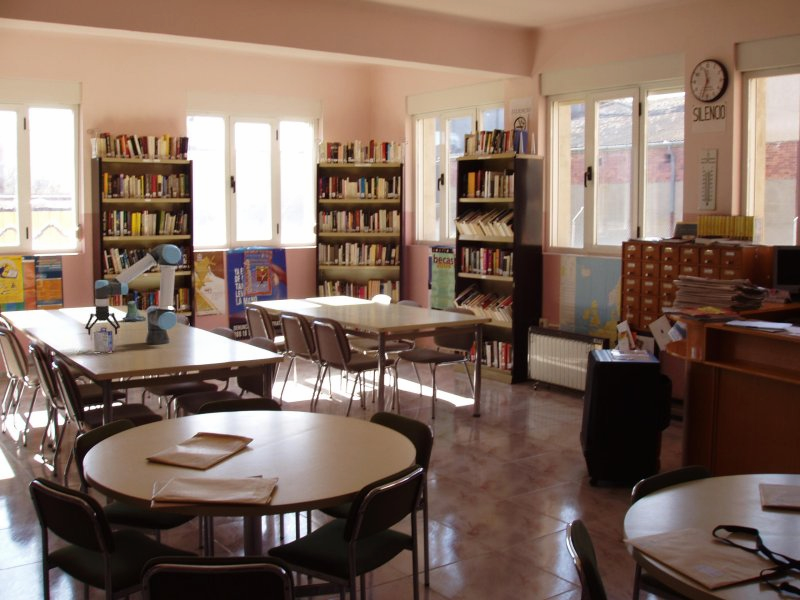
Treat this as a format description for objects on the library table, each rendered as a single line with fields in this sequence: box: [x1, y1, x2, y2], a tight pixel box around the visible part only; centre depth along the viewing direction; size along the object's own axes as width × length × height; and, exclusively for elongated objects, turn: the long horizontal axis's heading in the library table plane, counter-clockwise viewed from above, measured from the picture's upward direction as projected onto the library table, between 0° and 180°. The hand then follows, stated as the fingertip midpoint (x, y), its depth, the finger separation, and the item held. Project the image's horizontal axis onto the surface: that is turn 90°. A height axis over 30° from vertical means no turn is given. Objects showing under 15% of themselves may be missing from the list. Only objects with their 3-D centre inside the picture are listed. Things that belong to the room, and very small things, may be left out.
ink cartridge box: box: [93, 327, 114, 352], centre depth 524 cm, size 10×6×14 cm, turn 79°
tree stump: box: [121, 300, 148, 323], centre depth 665 cm, size 18×20×18 cm
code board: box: [77, 349, 108, 355], centre depth 523 cm, size 20×14×1 cm
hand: (103, 340), depth 523 cm, fingers open, 13 cm apart
